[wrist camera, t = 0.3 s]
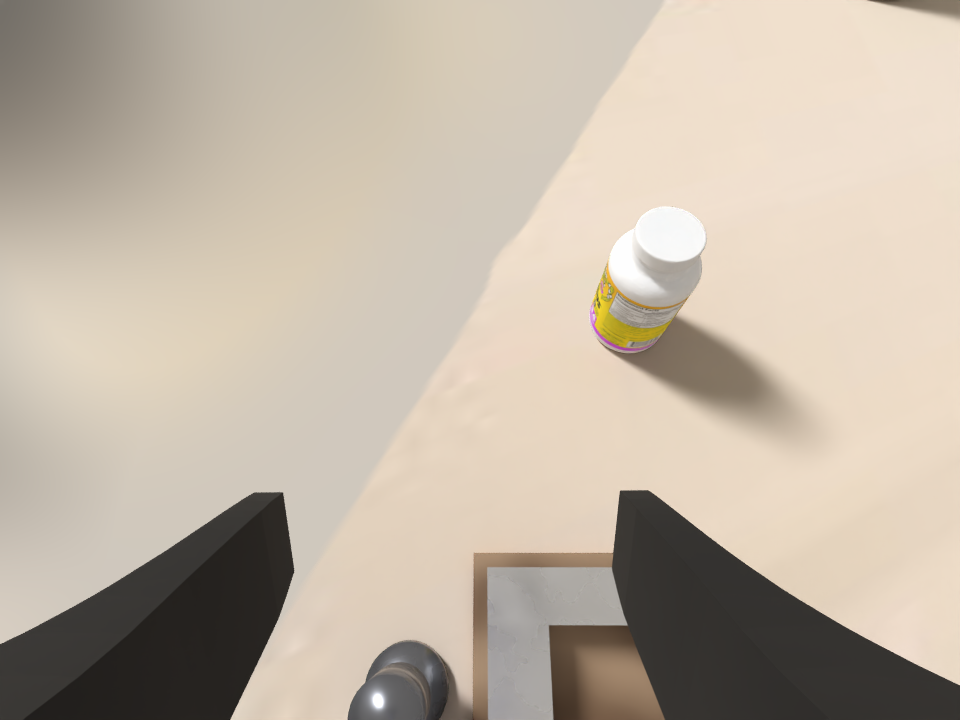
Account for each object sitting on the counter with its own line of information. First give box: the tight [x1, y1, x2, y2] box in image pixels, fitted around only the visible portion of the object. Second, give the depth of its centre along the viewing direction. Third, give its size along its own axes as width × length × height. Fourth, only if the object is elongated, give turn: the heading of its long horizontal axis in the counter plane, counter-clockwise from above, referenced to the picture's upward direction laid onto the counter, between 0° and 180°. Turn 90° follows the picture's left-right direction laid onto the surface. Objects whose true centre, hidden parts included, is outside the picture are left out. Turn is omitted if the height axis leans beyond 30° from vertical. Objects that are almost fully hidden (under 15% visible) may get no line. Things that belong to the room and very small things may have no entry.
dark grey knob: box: [348, 640, 449, 720], centre depth 30 cm, size 6×6×8 cm
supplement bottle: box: [589, 207, 707, 353], centre depth 39 cm, size 7×7×13 cm
